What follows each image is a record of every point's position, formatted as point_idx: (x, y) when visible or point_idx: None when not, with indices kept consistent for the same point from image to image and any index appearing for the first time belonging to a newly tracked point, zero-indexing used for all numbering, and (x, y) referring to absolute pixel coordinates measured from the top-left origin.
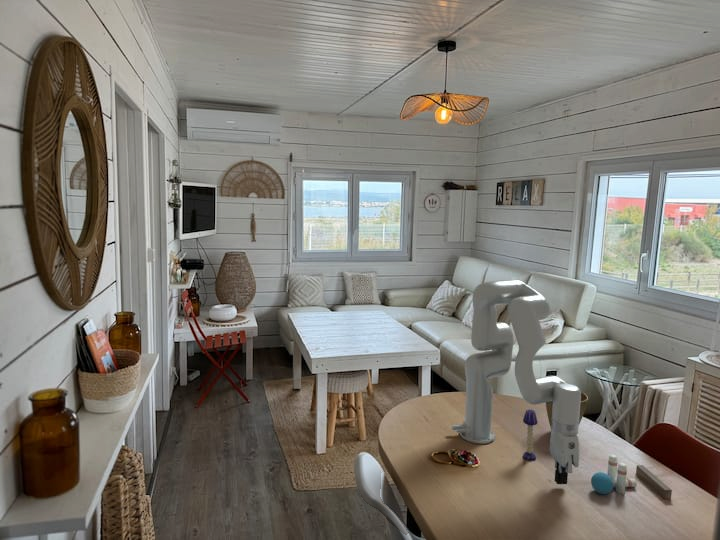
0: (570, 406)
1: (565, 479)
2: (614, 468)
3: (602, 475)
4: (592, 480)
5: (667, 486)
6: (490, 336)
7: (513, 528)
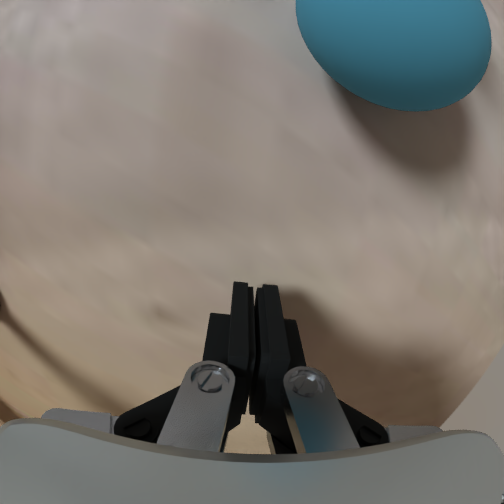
0: None
1: (298, 337)
2: None
3: (475, 23)
4: (396, 100)
5: None
6: None
7: None
